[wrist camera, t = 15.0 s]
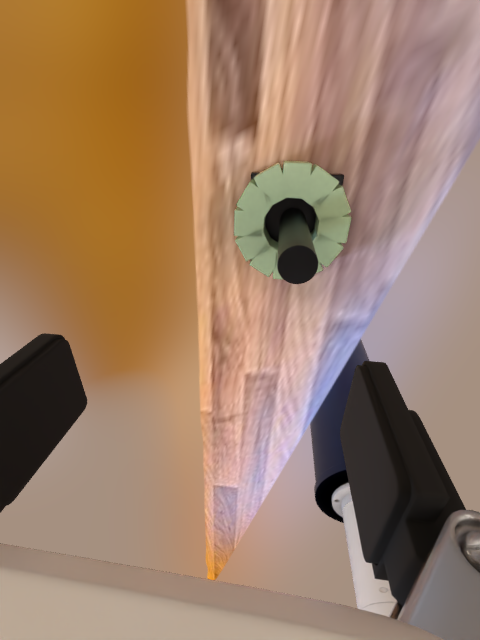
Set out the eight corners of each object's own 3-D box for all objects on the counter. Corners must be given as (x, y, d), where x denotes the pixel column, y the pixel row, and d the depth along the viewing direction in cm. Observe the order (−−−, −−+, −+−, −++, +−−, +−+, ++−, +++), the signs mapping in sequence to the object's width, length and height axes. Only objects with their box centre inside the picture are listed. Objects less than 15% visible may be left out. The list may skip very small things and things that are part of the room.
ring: (355, 163, 25) (362, 165, 23) (333, 273, 30) (337, 284, 28) (239, 158, 26) (235, 160, 24) (236, 266, 31) (233, 275, 29)
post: (342, 173, 26) (385, 194, 15) (328, 261, 31) (353, 327, 19) (252, 172, 27) (230, 190, 16) (249, 257, 31) (231, 319, 20)
